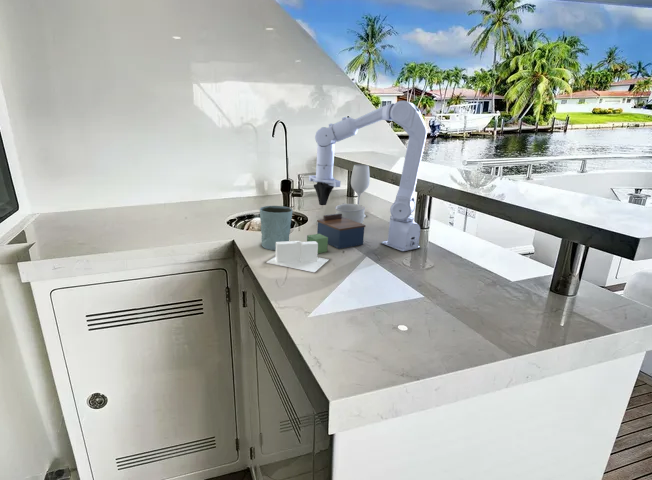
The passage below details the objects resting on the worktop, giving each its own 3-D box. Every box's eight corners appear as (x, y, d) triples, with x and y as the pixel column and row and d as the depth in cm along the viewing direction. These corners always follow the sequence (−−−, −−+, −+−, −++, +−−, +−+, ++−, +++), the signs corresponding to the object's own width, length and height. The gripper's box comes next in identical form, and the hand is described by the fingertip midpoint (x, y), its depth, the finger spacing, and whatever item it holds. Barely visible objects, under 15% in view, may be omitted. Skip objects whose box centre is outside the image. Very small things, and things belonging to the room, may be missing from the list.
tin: (362, 244, 124) (364, 226, 122) (338, 249, 119) (340, 230, 117) (340, 234, 134) (341, 218, 132) (316, 238, 129) (317, 221, 127)
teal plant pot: (253, 245, 121) (253, 208, 117) (275, 238, 128) (276, 203, 124) (276, 253, 114) (276, 214, 110) (298, 245, 122) (299, 209, 118)
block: (327, 251, 117) (328, 237, 115) (314, 253, 115) (315, 239, 113) (318, 247, 120) (319, 233, 119) (306, 249, 118) (307, 235, 117)
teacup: (365, 231, 139) (367, 210, 136) (335, 230, 139) (337, 209, 136) (359, 221, 152) (361, 202, 149) (332, 220, 152) (333, 201, 149)
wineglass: (367, 218, 157) (372, 166, 150) (349, 217, 157) (353, 166, 150) (364, 213, 164) (369, 164, 158) (347, 213, 165) (350, 164, 158)
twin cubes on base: (265, 262, 107) (265, 243, 105) (283, 251, 116) (283, 233, 115) (315, 272, 101) (316, 252, 99) (329, 259, 110) (330, 240, 109)
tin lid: (365, 226, 122) (366, 220, 121) (339, 230, 117) (340, 224, 116) (341, 218, 132) (341, 212, 131) (316, 221, 127) (317, 215, 126)
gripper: (348, 166, 124) (345, 207, 128) (320, 162, 135) (318, 199, 139) (332, 168, 120) (329, 210, 124) (304, 163, 131) (303, 201, 136)
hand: (322, 204), depth 132 cm, fingers closed
